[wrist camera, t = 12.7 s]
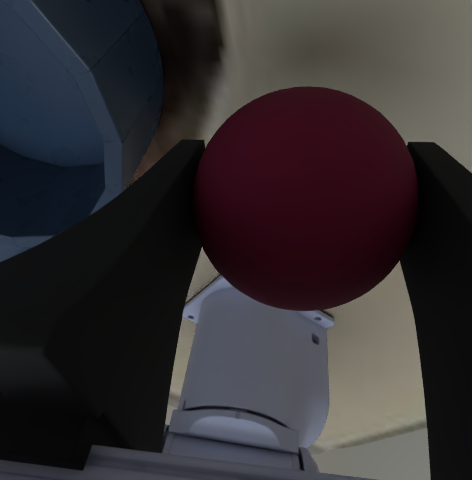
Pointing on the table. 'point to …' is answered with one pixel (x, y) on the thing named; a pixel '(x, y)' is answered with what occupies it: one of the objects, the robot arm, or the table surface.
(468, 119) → the table surface
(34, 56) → the pot
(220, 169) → the ball
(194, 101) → the table surface
